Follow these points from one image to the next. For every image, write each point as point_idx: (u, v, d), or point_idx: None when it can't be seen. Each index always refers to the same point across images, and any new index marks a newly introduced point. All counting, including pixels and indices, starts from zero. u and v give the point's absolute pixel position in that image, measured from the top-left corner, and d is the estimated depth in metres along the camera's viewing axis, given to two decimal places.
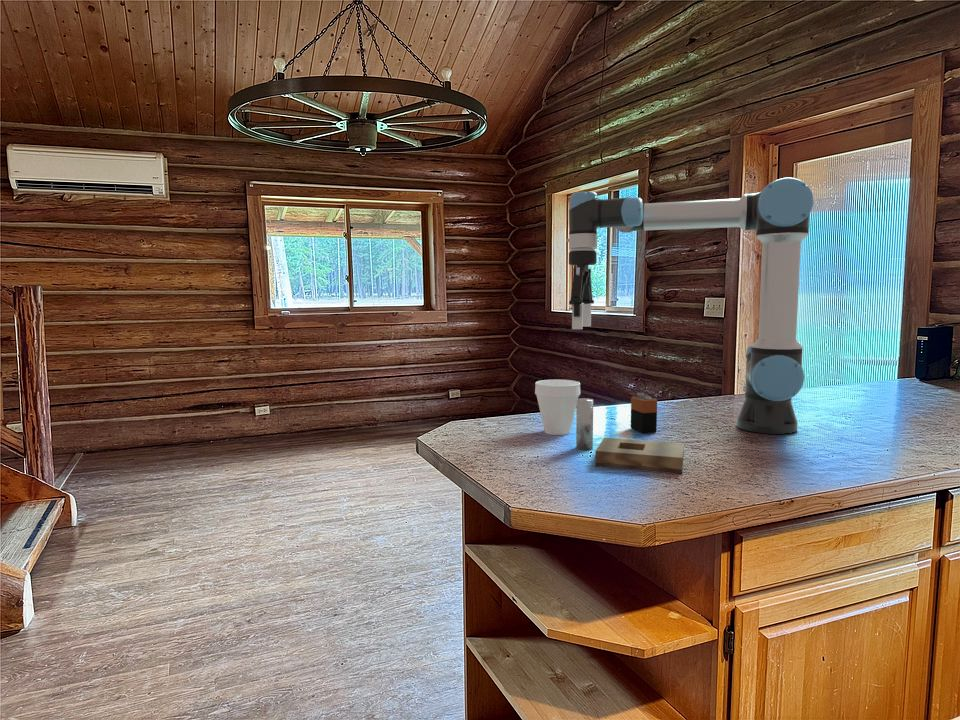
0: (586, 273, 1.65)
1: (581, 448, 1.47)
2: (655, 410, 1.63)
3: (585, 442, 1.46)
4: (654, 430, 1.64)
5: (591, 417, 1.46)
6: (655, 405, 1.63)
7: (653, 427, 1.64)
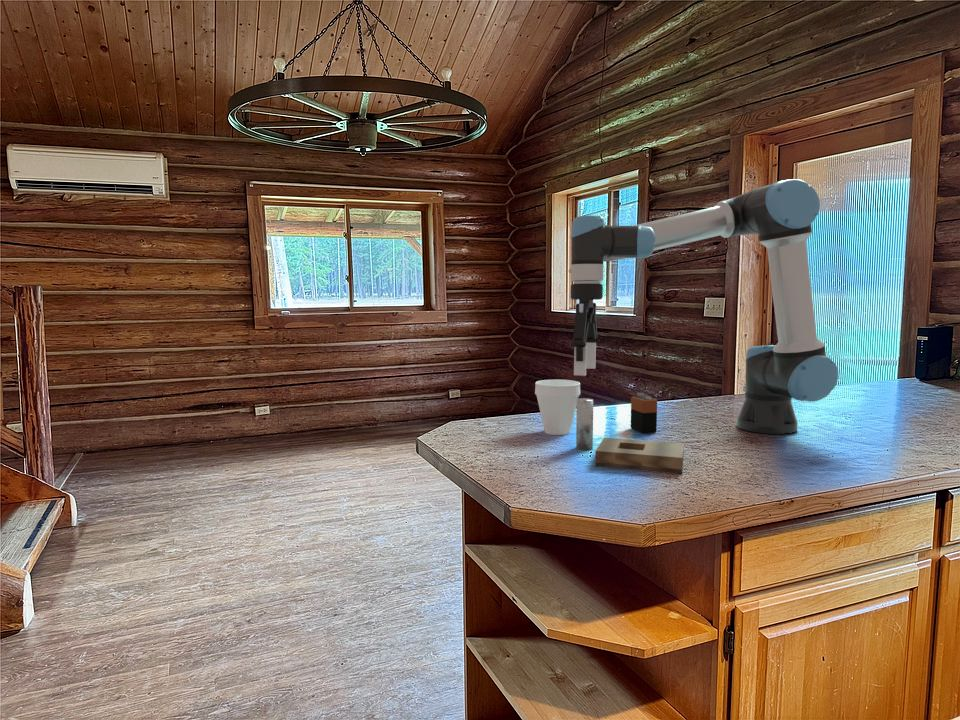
0: (591, 310, 1.42)
1: (581, 448, 1.47)
2: (655, 410, 1.63)
3: (585, 442, 1.46)
4: (654, 430, 1.64)
5: (591, 417, 1.46)
6: (655, 405, 1.63)
7: (653, 427, 1.64)
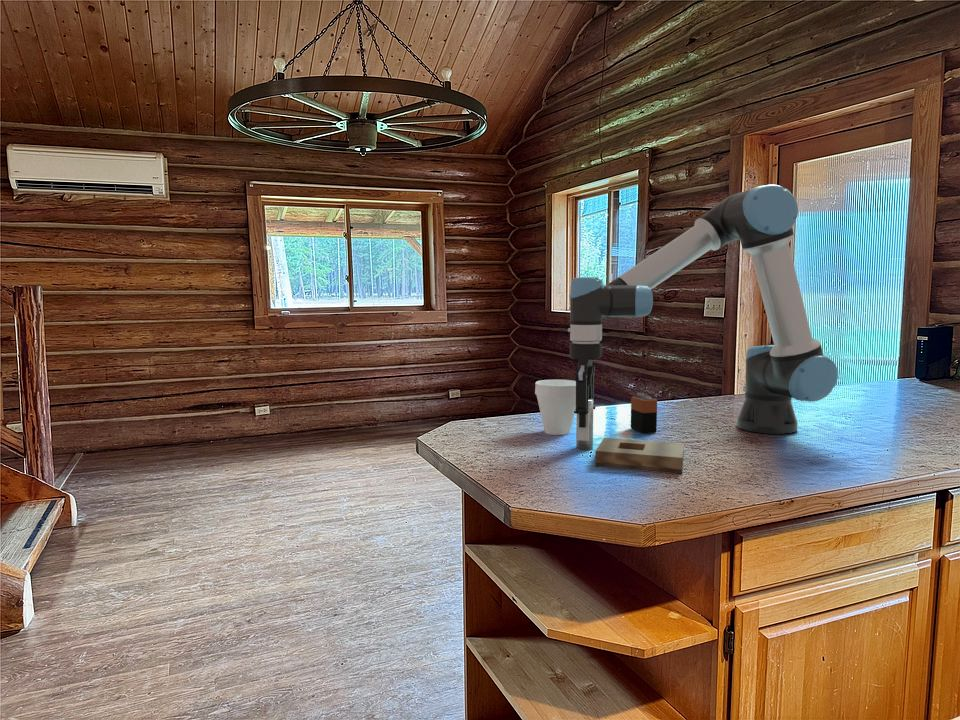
0: (590, 371, 1.44)
1: (581, 448, 1.47)
2: (655, 410, 1.63)
3: (585, 442, 1.46)
4: (654, 430, 1.64)
5: (591, 417, 1.46)
6: (655, 405, 1.63)
7: (653, 427, 1.64)
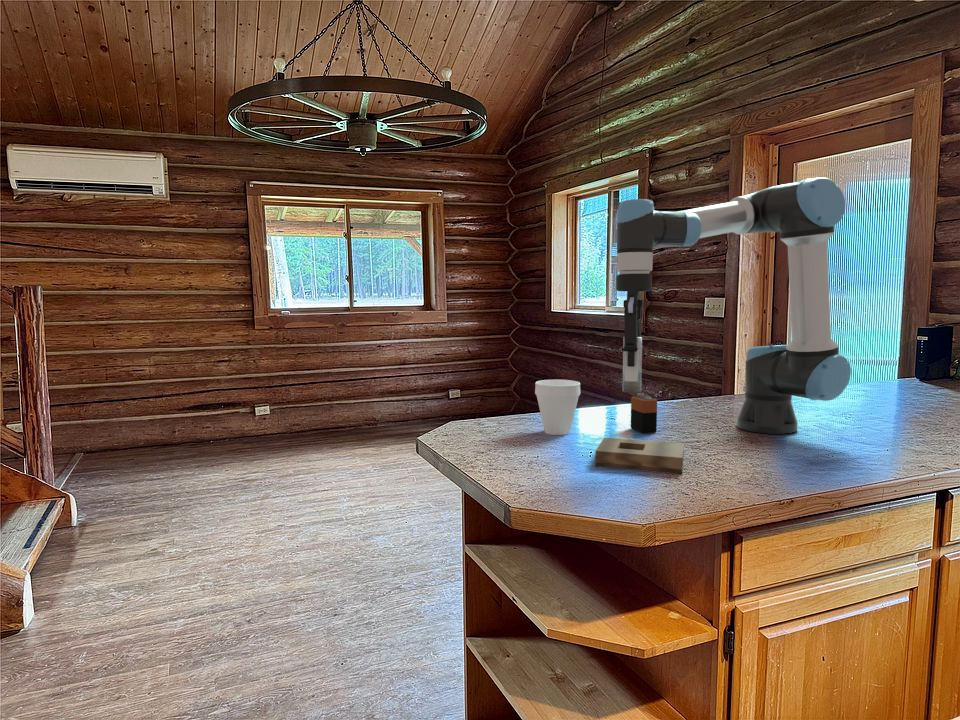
0: (639, 304, 1.31)
1: (629, 390, 1.33)
2: (655, 410, 1.63)
3: (633, 384, 1.33)
4: (654, 430, 1.64)
5: (640, 356, 1.33)
6: (655, 405, 1.63)
7: (653, 427, 1.64)
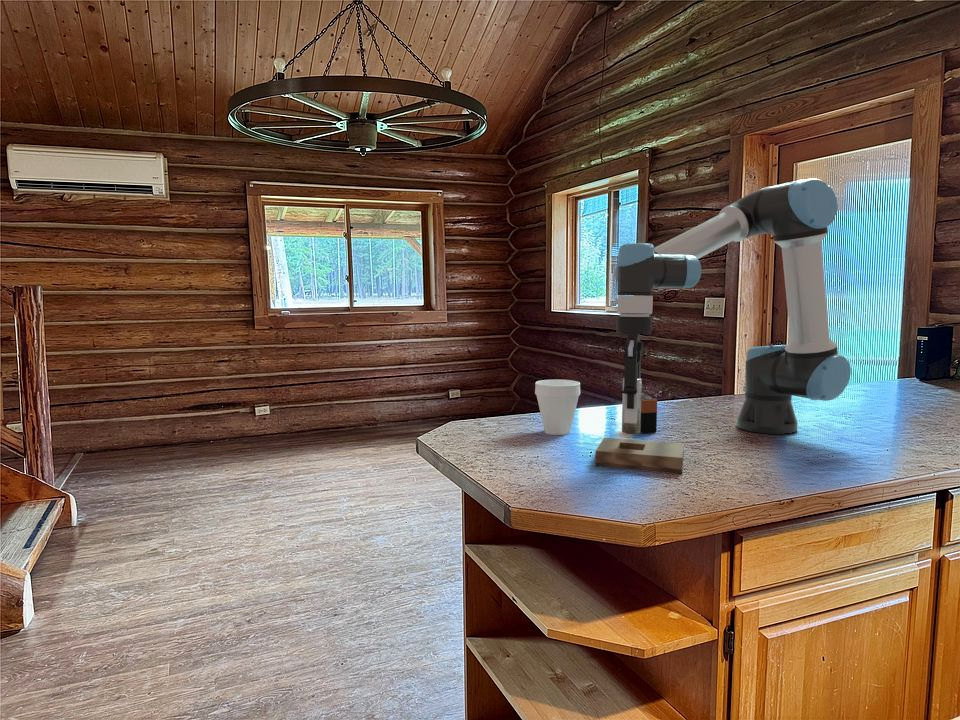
0: (639, 347, 1.31)
1: (628, 431, 1.34)
2: (655, 410, 1.63)
3: (633, 425, 1.34)
4: (654, 430, 1.64)
5: (639, 398, 1.33)
6: (655, 405, 1.63)
7: (653, 427, 1.64)
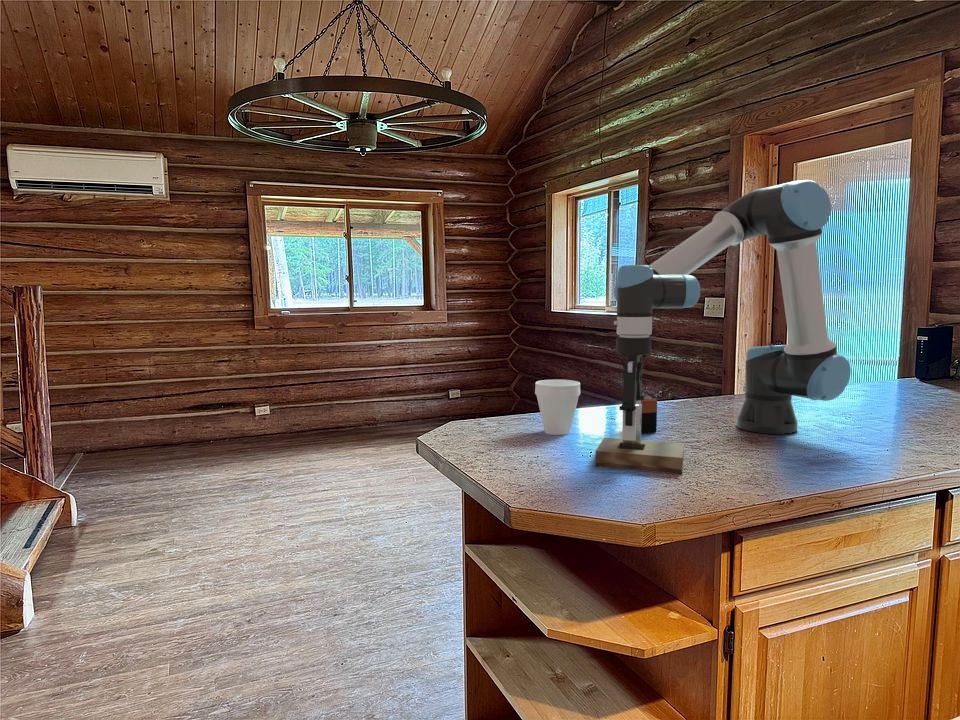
0: (639, 366, 1.32)
1: None
2: (655, 410, 1.63)
3: None
4: (654, 430, 1.64)
5: (639, 423, 1.34)
6: (655, 405, 1.63)
7: (653, 427, 1.64)
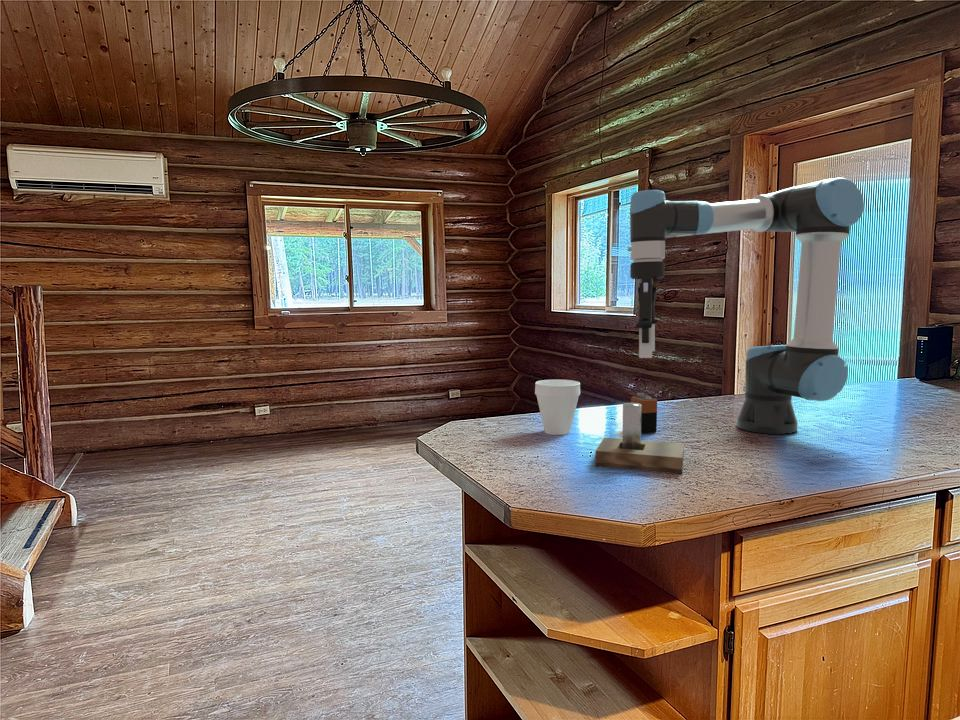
0: (653, 289, 1.36)
1: None
2: (655, 410, 1.63)
3: None
4: (654, 430, 1.64)
5: (639, 423, 1.34)
6: (655, 405, 1.63)
7: (653, 427, 1.64)
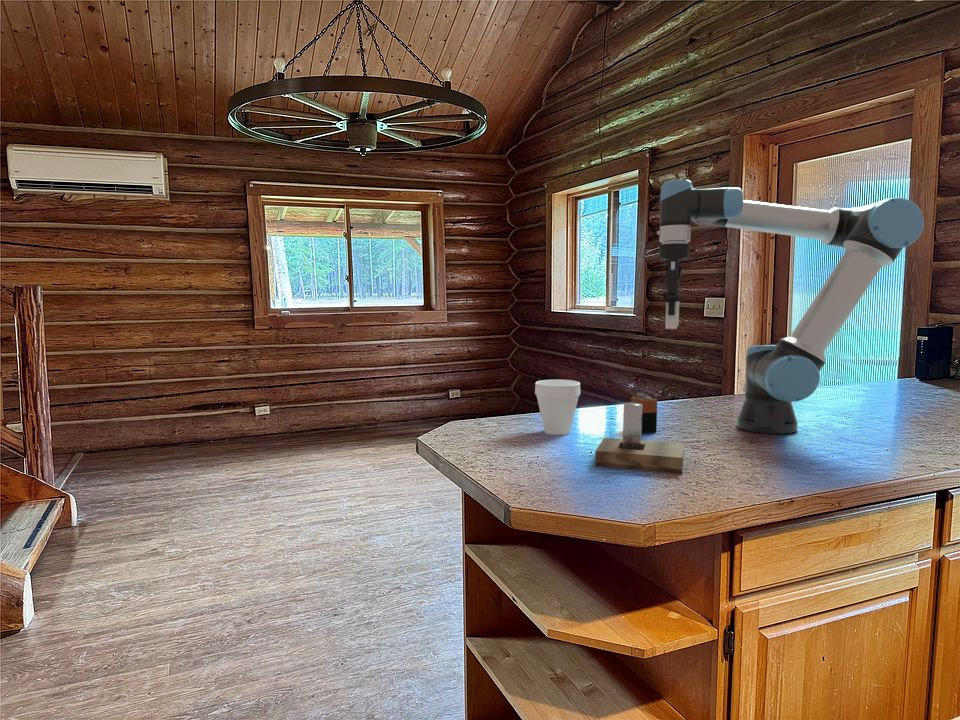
0: (679, 268, 1.53)
1: None
2: (655, 410, 1.63)
3: None
4: (654, 430, 1.64)
5: (640, 423, 1.34)
6: (655, 405, 1.63)
7: (653, 427, 1.64)
